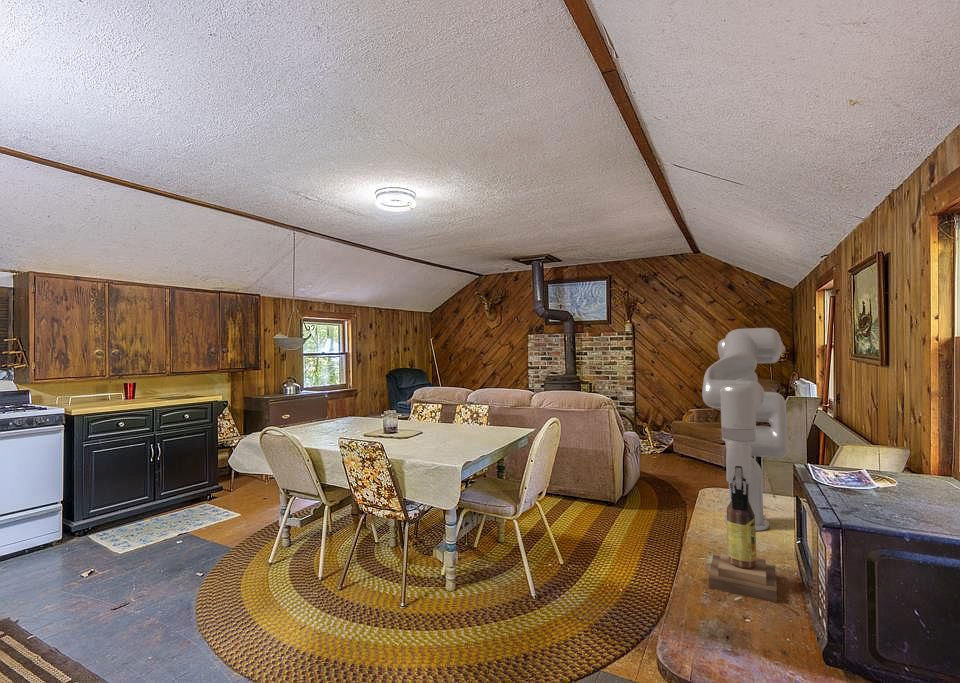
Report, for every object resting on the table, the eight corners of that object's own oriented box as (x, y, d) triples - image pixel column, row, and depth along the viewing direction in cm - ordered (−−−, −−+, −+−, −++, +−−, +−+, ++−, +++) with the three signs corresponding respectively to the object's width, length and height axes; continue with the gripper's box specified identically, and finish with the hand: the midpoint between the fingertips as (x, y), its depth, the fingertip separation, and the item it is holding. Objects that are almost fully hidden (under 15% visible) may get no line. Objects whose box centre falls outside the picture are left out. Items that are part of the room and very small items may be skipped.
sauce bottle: (759, 571, 114) (756, 487, 114) (729, 567, 117) (727, 485, 117) (754, 559, 121) (751, 480, 121) (726, 556, 123) (723, 478, 123)
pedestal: (713, 564, 128) (713, 547, 128) (775, 575, 121) (774, 557, 121) (708, 588, 116) (708, 569, 116) (777, 602, 109) (776, 582, 109)
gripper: (723, 426, 128) (725, 490, 128) (719, 440, 113) (721, 512, 113) (756, 428, 124) (758, 494, 125) (756, 443, 109) (758, 518, 110)
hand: (740, 503), depth 119 cm, fingers open, 9 cm apart
